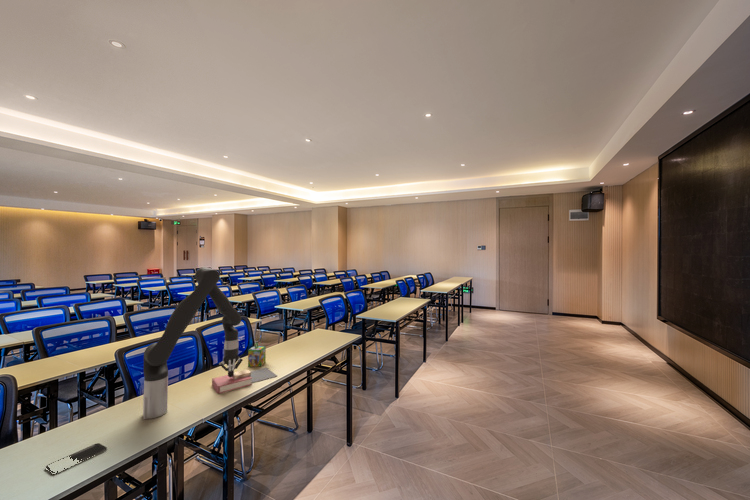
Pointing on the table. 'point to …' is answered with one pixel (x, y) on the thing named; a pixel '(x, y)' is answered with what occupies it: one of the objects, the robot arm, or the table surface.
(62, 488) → the table surface
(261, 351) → the chalk box
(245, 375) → the block
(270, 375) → the desk mat
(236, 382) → the book deck
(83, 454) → the phone
